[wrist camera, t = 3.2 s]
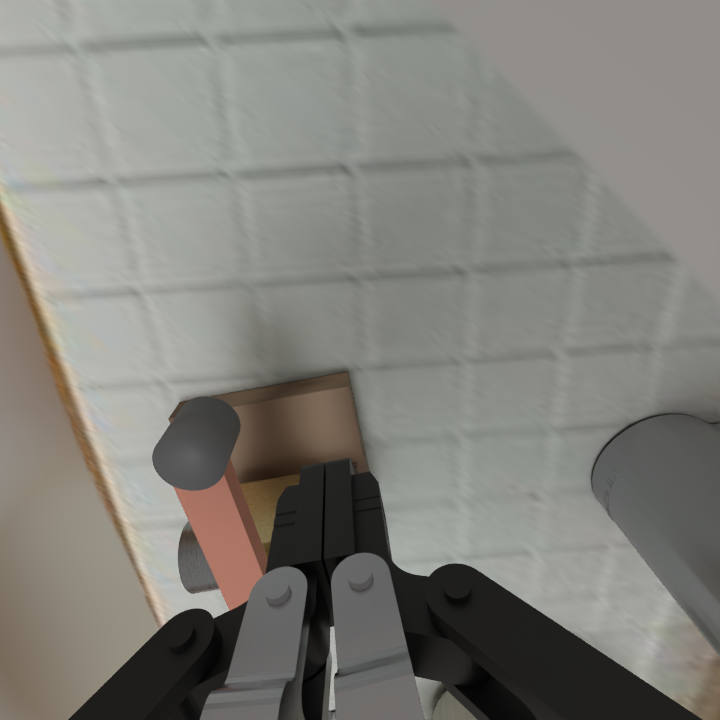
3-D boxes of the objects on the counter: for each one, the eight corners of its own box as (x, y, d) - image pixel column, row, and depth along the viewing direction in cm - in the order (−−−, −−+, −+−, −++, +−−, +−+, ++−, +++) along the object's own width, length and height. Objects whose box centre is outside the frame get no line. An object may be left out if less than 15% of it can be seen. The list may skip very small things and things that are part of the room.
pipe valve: (353, 449, 27) (359, 549, 20) (367, 508, 29) (376, 619, 22) (201, 476, 28) (151, 584, 20) (224, 533, 30) (187, 650, 22)
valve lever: (232, 391, 17) (214, 428, 15) (304, 600, 23) (299, 654, 20) (165, 403, 18) (136, 442, 15) (252, 609, 23) (241, 663, 20)
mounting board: (347, 371, 27) (348, 386, 25) (382, 533, 33) (384, 554, 31) (179, 402, 28) (168, 418, 26) (242, 556, 33) (236, 579, 31)
